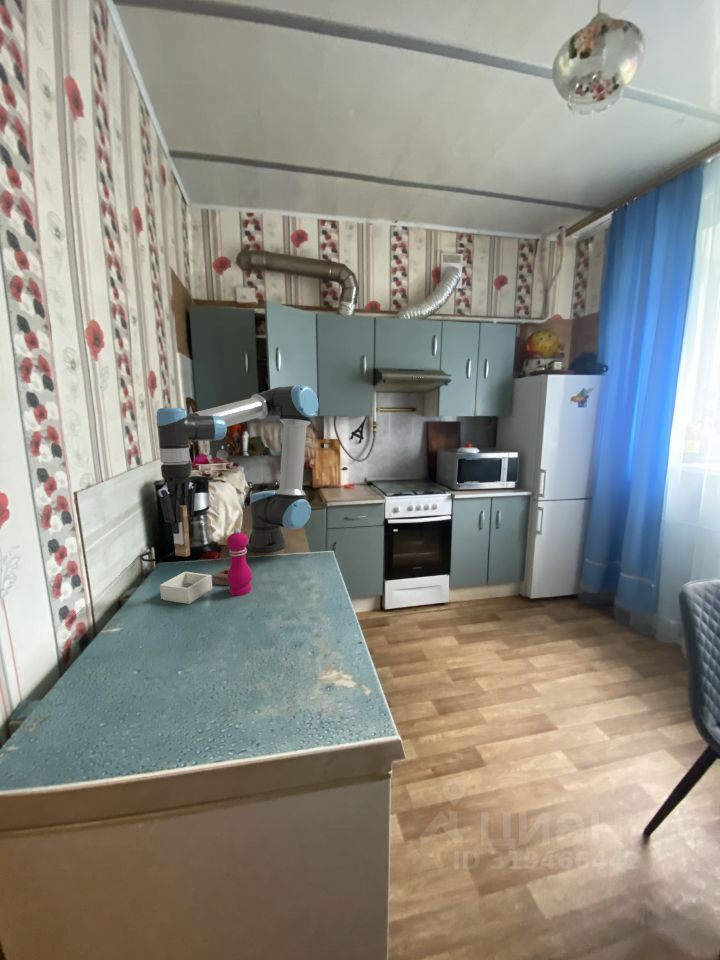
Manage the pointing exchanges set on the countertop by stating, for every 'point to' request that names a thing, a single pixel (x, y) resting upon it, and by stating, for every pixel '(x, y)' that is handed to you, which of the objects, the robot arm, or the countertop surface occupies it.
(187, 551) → the brown wooden block
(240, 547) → the pepper mill
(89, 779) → the countertop surface
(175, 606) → the countertop surface
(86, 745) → the countertop surface
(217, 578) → the holder
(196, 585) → the white storage tray
